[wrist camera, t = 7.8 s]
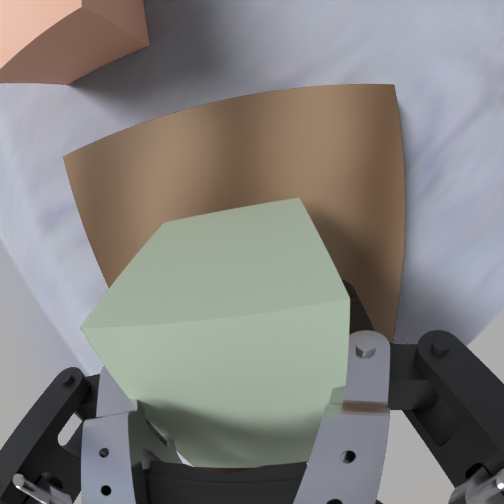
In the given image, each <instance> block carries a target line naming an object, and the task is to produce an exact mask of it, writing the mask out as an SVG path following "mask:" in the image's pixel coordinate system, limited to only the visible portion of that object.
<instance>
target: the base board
mask: <svg viewBox="0 0 504 504" xmlns="http://www.w3.org/2000/svg"><path fill="white" fill-rule="evenodd" d="M63 159H64V163H65V167H66V171H67V175H68V178H69V182H70V185H71V189H72V192H73V196H74V199H75V202H76V205H77V208H78V211H79V214H80V217H81V220H82V223H83V226H84V229H85V231H86V234H87V237H88V239H89V242H90V245H91V247H92V250H93V252H94V255H95V257H96V260H97V262H98V264H99V267H100V269H101V271H102V274H103V276H104V278H105V281H106V283H107V285H108V287H109V288H110V287H111V285H112V284H113V283H114V282H115V280H116V279H117V278H118V277H119V275H120V274H121V273H122V272H123V270H124V269H125V268H126V267H127V265H128V264H129V263H130V262H131V260H132V259H133V258H134V257H135V256H136V254H137V253H138V252H139V251H140V250H141V249H142V247H143V246H144V245H145V244H146V243H147V241H148V240H149V239H150V238H151V237H152V236H153V235H154V233H155V232H156V231H157V230H158V229H159V228H160V227H161V225H162V224H163V223H164V222H169V221H174V220H179V219H183V218H188V217H193V216H198V215H203V214H208V213H213V212H219V211H224V210H229V209H235V208H240V207H246V206H251V205H257V204H263V203H269V202H275V201H281V200H287V199H294V198H300V200H301V201H302V203H303V205H304V207H305V209H306V211H307V213H308V214H309V216H310V218H311V220H312V222H313V224H314V226H315V228H316V230H317V232H318V234H319V235H320V237H321V239H322V241H323V243H324V245H325V247H326V249H327V251H328V253H329V255H330V257H331V259H332V261H333V263H334V265H335V268H336V270H337V272H338V274H339V276H340V278H341V280H343V279H344V280H345V281H347V282H348V283H350V284H351V285H352V286H353V287H354V289H355V291H356V293H357V296H358V297H359V299H360V301H361V304H362V305H363V307H364V309H365V311H366V313H367V315H368V317H369V319H370V321H371V323H372V326H373V328H374V330H375V332H378V333H380V334H382V335H383V336H385V337H386V339H387V340H388V341H389V343H392V341H393V335H394V330H395V324H396V318H397V311H398V304H399V296H400V288H401V279H402V268H403V255H404V237H405V175H404V158H403V145H402V135H401V126H400V118H399V110H398V104H397V97H396V91H395V86H394V85H391V84H346V85H326V86H313V87H303V88H293V89H285V90H278V91H271V92H264V93H258V94H252V95H247V96H241V97H236V98H231V99H227V100H222V101H217V102H213V103H209V104H205V105H201V106H197V107H193V108H189V109H186V110H182V111H179V112H175V113H172V114H169V115H165V116H162V117H159V118H156V119H153V120H150V121H147V122H144V123H141V124H138V125H135V126H133V127H130V128H127V129H125V130H122V131H119V132H117V133H114V134H112V135H109V136H107V137H105V138H102V139H100V140H97V141H95V142H93V143H91V144H88V145H86V146H84V147H82V148H80V149H78V150H75V151H73V152H71V153H69V154H67V155H65V156H63Z"/></svg>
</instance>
